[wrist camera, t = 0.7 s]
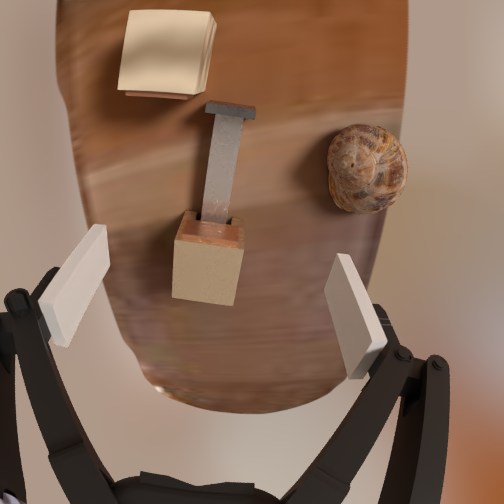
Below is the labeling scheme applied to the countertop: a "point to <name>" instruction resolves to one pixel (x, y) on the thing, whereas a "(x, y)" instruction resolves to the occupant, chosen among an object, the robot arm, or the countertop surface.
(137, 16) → the slotted tan cube
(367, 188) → the seashell
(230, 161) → the rail
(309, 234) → the countertop surface
